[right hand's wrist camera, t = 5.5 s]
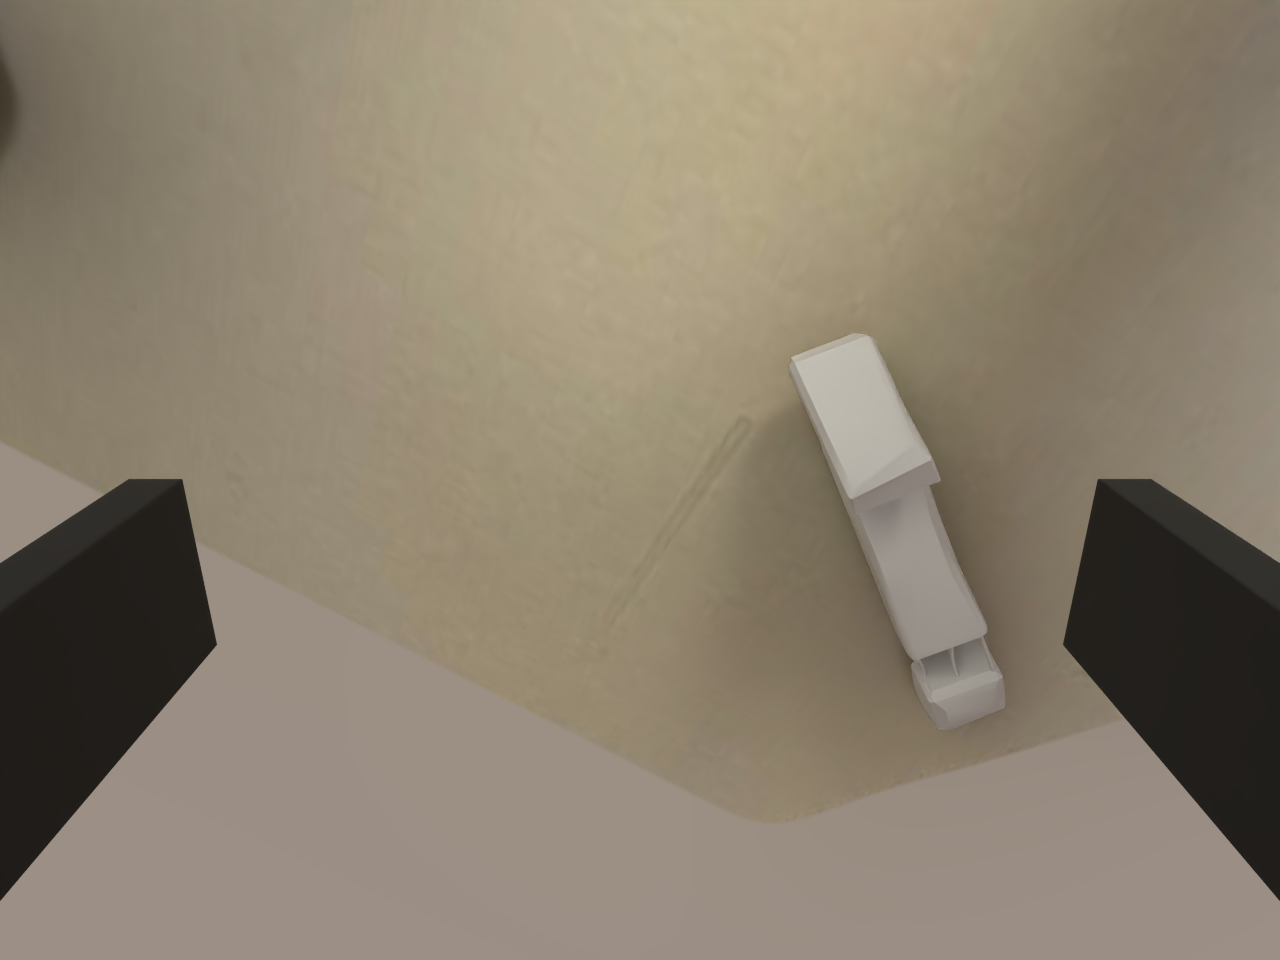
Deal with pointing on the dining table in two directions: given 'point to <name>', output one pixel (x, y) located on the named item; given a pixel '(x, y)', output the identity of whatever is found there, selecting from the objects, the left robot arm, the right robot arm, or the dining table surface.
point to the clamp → (900, 526)
